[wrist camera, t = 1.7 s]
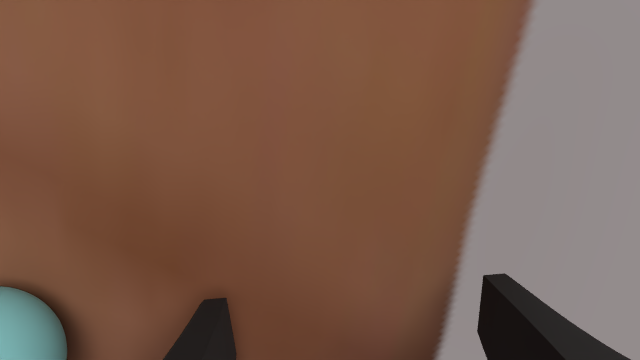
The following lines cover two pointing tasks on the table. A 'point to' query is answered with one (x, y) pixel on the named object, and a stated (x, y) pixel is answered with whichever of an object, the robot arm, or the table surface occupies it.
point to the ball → (29, 328)
